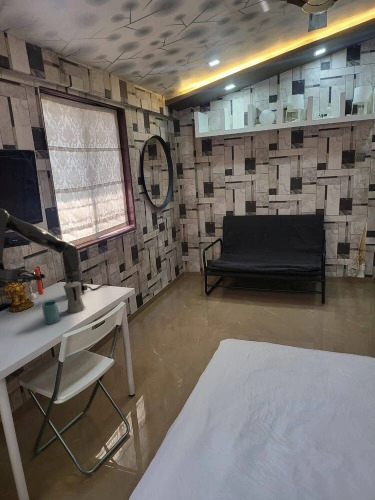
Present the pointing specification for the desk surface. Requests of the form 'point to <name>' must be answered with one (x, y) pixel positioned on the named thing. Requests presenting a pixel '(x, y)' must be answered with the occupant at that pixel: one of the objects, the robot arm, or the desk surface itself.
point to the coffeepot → (74, 296)
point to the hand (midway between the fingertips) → (42, 277)
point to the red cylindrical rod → (38, 282)
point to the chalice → (31, 296)
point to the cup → (50, 312)
